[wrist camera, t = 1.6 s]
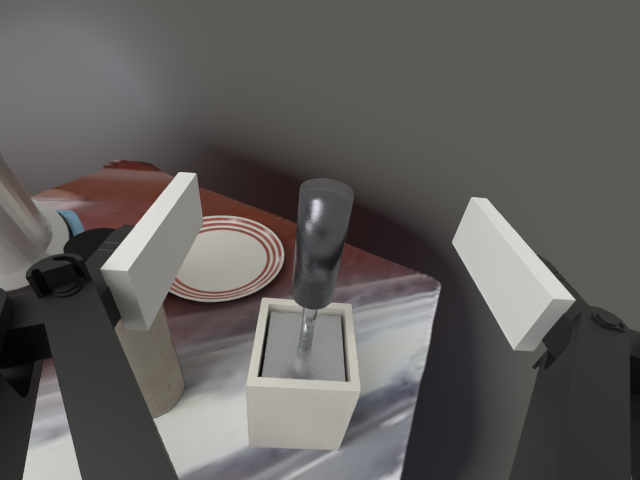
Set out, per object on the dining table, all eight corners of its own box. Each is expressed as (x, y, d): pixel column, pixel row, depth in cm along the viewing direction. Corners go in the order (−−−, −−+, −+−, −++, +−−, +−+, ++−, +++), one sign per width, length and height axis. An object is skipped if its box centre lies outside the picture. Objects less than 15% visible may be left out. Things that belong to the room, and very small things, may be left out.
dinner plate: (301, 244, 78) (302, 233, 76) (246, 330, 57) (246, 318, 55) (203, 215, 83) (202, 204, 81) (119, 283, 62) (115, 271, 60)
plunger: (261, 383, 35) (262, 217, 22) (271, 316, 42) (276, 161, 29) (344, 387, 36) (393, 229, 22) (339, 321, 43) (374, 171, 30)
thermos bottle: (172, 356, 51) (128, 209, 34) (193, 395, 47) (155, 248, 30) (116, 386, 46) (34, 232, 30) (135, 432, 42) (50, 283, 25)
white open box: (249, 447, 42) (245, 385, 33) (261, 364, 52) (262, 297, 42) (338, 450, 43) (361, 391, 33) (334, 368, 53) (351, 304, 43)
